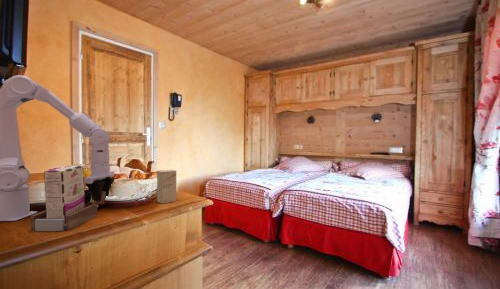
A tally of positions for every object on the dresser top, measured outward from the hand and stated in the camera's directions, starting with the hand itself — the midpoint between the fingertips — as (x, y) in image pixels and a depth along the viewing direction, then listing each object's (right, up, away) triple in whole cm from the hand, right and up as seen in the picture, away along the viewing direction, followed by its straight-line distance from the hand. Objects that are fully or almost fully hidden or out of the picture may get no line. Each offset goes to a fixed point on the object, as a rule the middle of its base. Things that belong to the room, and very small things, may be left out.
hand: (101, 199), depth 88 cm
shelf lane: (0, -3, -16) cm, 17 cm away
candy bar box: (0, -3, -17) cm, 17 cm away
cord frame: (0, -3, -11) cm, 11 cm away
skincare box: (+22, -2, +6) cm, 23 cm away
